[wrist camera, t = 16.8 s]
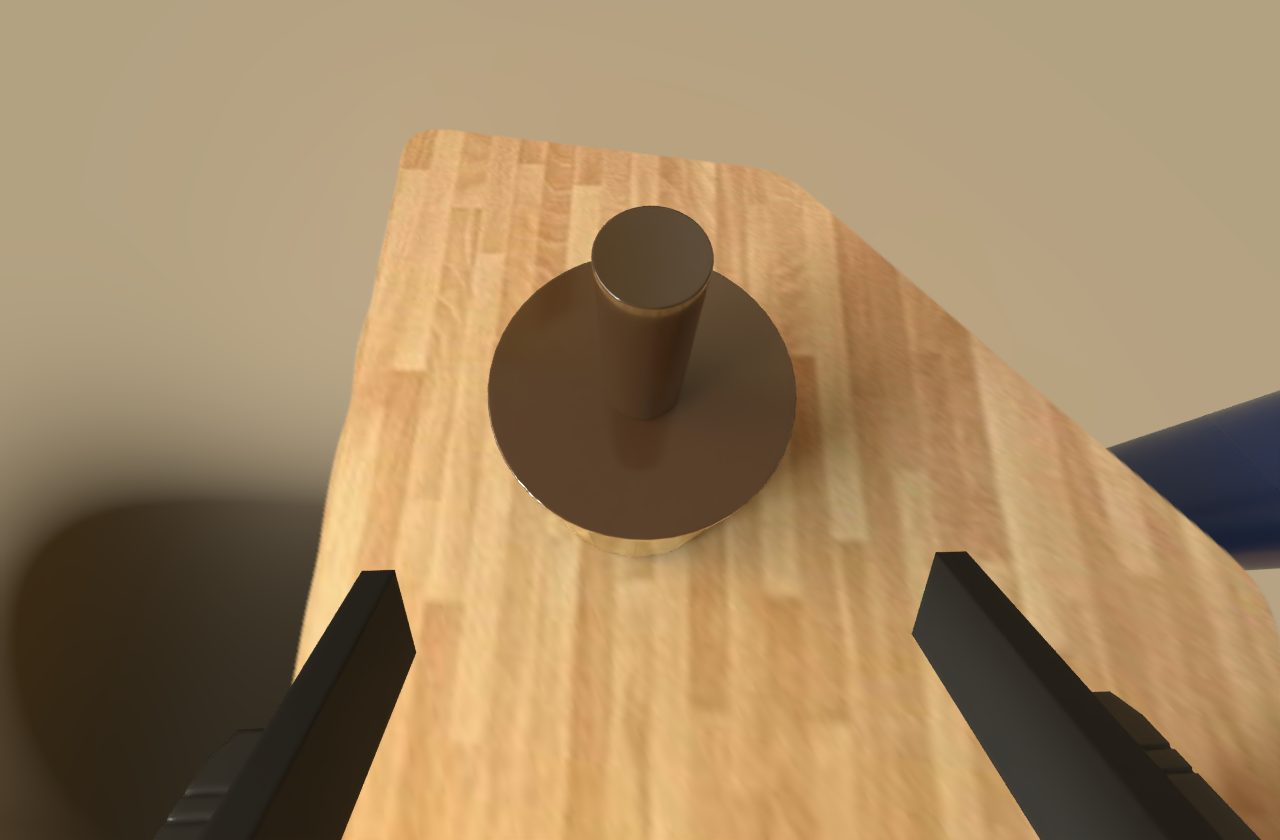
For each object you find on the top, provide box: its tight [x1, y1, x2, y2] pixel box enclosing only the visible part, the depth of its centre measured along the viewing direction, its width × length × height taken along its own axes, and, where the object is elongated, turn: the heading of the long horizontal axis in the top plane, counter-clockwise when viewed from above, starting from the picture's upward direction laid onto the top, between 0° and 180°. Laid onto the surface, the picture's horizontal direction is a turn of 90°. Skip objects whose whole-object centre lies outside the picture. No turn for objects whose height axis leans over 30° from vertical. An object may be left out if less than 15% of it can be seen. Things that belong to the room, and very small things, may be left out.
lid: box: [488, 206, 796, 542], centre depth 19 cm, size 13×13×10 cm
